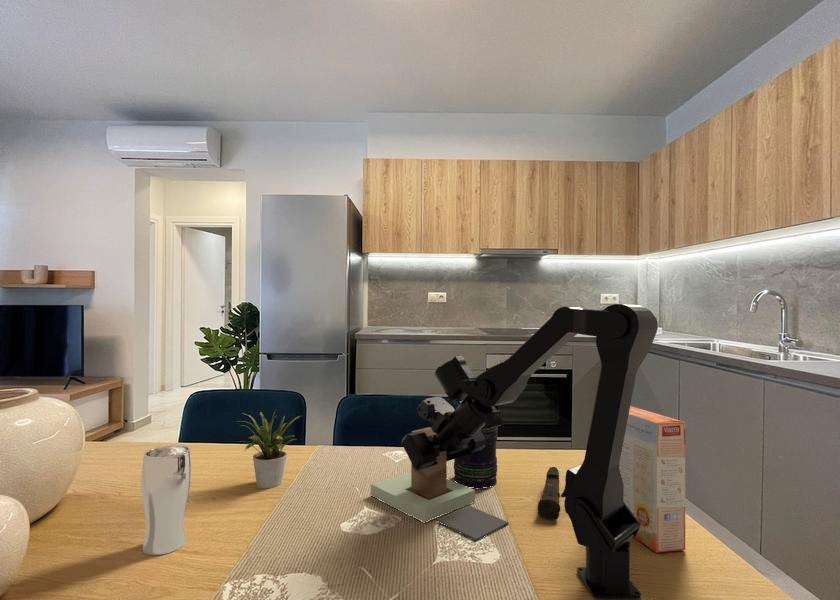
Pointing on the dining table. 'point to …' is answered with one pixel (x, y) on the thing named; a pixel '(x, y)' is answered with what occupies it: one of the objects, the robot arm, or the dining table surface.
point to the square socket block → (403, 499)
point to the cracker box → (655, 478)
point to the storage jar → (479, 463)
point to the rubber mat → (473, 522)
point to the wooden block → (430, 475)
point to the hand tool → (550, 496)
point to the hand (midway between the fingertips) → (424, 465)
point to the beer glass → (165, 497)
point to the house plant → (269, 452)
